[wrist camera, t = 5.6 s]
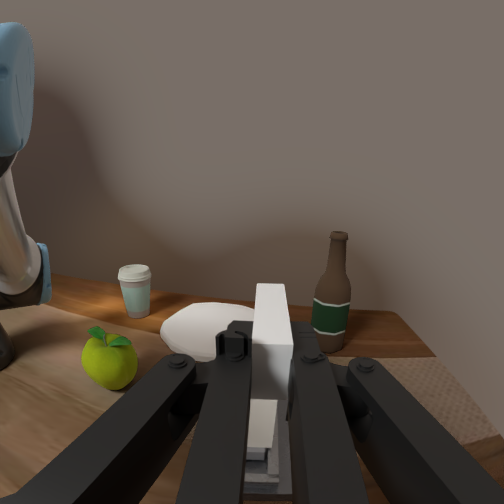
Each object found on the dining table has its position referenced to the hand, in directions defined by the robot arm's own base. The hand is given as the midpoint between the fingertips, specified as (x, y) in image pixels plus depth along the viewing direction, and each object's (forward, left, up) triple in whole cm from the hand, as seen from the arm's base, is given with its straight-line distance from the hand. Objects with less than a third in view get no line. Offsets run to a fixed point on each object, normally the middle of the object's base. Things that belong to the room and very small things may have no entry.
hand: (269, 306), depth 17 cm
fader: (+4, +7, -23) cm, 25 cm away
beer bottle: (+32, +24, -26) cm, 48 cm away
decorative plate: (+15, +40, -26) cm, 50 cm away
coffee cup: (0, +57, -26) cm, 62 cm away
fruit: (-10, +30, -26) cm, 41 cm away
